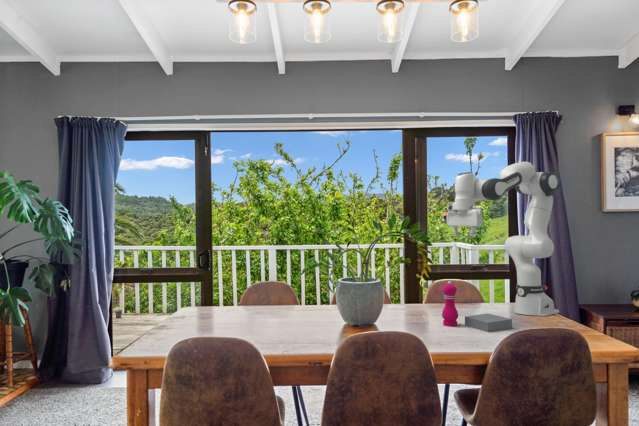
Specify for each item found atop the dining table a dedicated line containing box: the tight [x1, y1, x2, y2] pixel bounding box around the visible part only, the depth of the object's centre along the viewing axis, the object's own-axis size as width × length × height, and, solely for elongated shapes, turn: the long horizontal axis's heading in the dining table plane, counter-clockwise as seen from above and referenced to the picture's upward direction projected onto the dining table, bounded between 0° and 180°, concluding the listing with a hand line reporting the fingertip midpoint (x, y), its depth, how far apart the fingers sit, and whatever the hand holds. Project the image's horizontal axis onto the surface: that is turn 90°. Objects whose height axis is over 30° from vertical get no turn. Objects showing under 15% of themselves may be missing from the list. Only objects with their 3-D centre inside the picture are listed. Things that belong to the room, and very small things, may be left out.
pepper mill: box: [441, 280, 459, 327], centre depth 215 cm, size 7×7×20 cm
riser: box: [464, 313, 513, 333], centre depth 210 cm, size 14×14×4 cm
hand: (464, 236), depth 219 cm, fingers open, 8 cm apart
